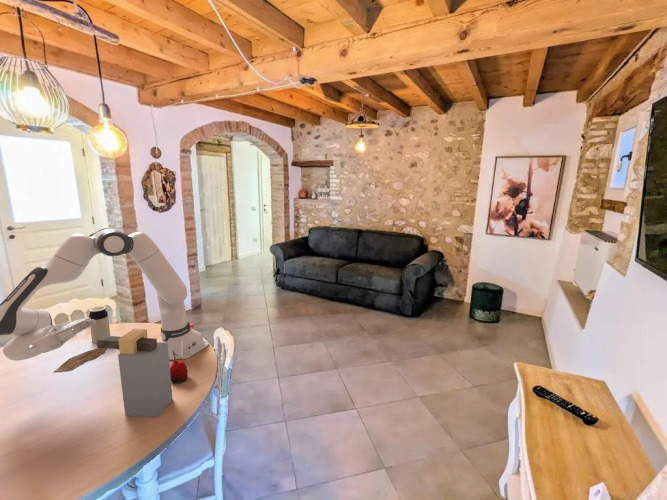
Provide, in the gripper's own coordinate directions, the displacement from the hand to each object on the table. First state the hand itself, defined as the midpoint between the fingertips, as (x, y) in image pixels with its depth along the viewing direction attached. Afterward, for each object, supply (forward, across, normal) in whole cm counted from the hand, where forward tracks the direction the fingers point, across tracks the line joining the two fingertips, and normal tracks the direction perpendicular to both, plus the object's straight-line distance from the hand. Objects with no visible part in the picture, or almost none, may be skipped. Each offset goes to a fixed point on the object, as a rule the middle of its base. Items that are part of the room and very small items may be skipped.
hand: (83, 326), depth 117 cm
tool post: (+10, 0, +37) cm, 38 cm away
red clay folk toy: (+12, +17, +37) cm, 43 cm away
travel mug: (-40, +49, +15) cm, 65 cm away
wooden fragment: (-36, +32, +18) cm, 52 cm away
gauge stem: (+13, -1, +12) cm, 18 cm away
